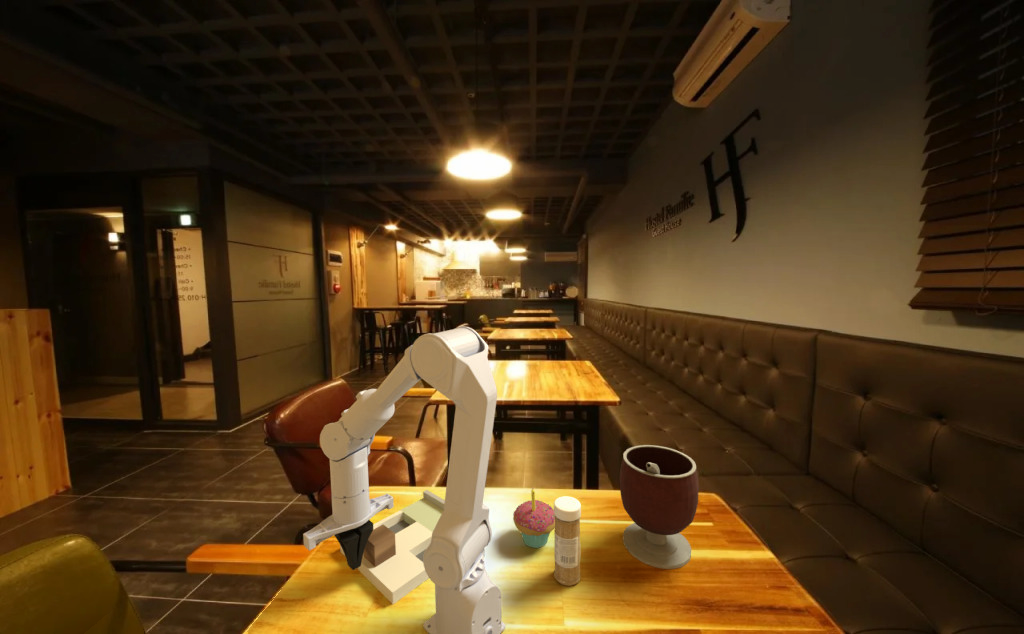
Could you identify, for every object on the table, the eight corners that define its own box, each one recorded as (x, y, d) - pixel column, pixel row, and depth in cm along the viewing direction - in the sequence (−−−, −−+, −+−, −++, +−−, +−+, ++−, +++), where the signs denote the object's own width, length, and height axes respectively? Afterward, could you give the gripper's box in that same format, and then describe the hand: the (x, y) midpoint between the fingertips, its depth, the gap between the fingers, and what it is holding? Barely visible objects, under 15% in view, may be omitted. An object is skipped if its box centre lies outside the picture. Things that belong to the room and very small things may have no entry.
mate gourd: (629, 514, 82) (631, 425, 80) (700, 537, 74) (704, 439, 73) (606, 558, 69) (608, 453, 67) (689, 591, 61) (693, 474, 60)
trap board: (482, 538, 74) (482, 521, 74) (393, 604, 59) (392, 583, 59) (427, 504, 86) (426, 489, 86) (340, 552, 71) (339, 534, 71)
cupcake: (554, 557, 69) (554, 495, 68) (509, 551, 71) (508, 491, 70) (557, 528, 78) (558, 472, 76) (517, 523, 79) (517, 468, 78)
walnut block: (395, 554, 68) (395, 533, 67) (375, 567, 64) (374, 545, 64) (383, 544, 70) (383, 524, 70) (363, 556, 67) (362, 535, 67)
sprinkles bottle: (582, 571, 66) (583, 498, 65) (576, 590, 62) (577, 513, 60) (557, 563, 68) (558, 492, 66) (550, 582, 64) (550, 506, 62)
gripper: (377, 465, 71) (380, 533, 72) (293, 499, 60) (298, 579, 61) (399, 477, 66) (401, 550, 67) (312, 517, 55) (317, 602, 56)
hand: (354, 565), depth 64 cm, fingers closed
